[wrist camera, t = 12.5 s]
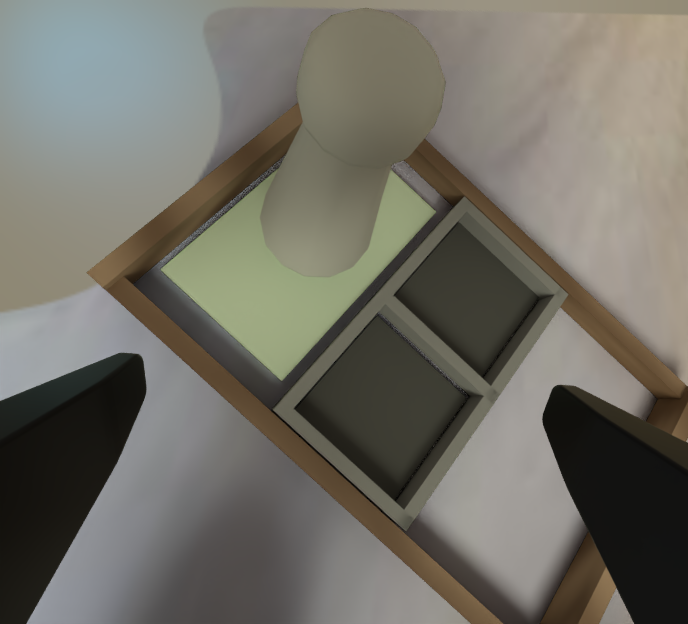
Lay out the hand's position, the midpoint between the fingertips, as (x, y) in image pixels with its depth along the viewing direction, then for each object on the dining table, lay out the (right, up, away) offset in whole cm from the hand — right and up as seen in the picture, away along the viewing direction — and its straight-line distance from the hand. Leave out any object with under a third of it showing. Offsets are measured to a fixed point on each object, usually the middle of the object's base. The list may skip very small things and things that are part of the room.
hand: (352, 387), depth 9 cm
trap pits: (+5, -1, +15) cm, 16 cm away
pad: (-2, +6, +15) cm, 16 cm away
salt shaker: (-2, +6, +14) cm, 16 cm away
